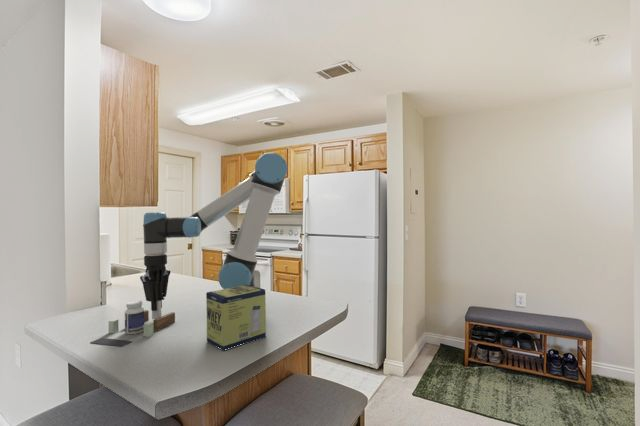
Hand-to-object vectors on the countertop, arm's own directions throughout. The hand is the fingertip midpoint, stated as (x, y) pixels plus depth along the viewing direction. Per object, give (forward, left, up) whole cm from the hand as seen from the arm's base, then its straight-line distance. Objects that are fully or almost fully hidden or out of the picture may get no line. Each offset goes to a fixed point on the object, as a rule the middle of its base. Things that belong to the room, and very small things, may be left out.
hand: (156, 318), depth 119 cm
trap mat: (0, +19, -2) cm, 19 cm away
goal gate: (0, +12, -2) cm, 12 cm away
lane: (0, +3, -2) cm, 3 cm away
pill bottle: (+1, +10, -2) cm, 10 cm away
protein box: (-37, +8, -2) cm, 38 cm away
